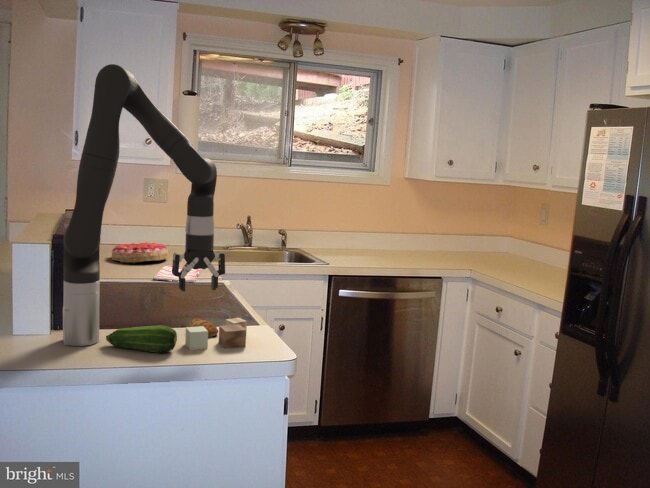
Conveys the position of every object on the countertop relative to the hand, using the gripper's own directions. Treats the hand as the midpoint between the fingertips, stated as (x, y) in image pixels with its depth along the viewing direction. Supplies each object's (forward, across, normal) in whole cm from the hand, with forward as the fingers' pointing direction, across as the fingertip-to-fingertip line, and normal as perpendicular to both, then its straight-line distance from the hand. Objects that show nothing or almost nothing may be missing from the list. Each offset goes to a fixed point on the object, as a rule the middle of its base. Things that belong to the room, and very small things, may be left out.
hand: (198, 290), depth 182 cm
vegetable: (+16, -15, +1) cm, 22 cm away
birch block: (+16, +14, +8) cm, 23 cm away
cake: (+16, +8, +131) cm, 133 cm away
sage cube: (+16, 0, 0) cm, 16 cm away
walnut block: (+16, +10, -1) cm, 19 cm away
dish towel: (+17, +17, +94) cm, 97 cm away
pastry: (+16, +5, +12) cm, 21 cm away
